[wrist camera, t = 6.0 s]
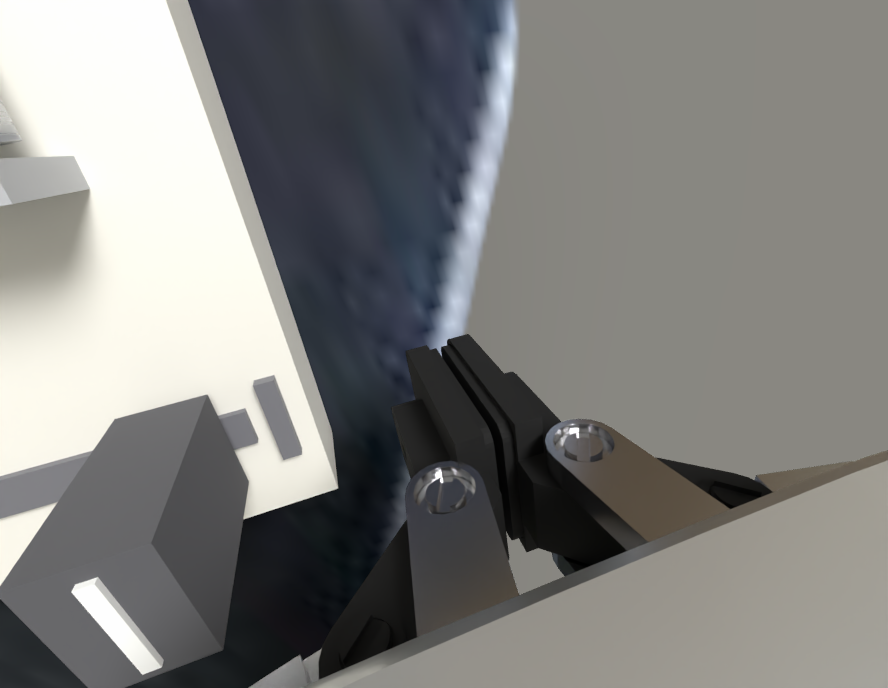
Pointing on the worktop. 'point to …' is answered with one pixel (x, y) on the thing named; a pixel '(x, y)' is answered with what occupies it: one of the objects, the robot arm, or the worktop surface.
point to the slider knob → (138, 550)
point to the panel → (134, 261)
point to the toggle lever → (7, 128)
